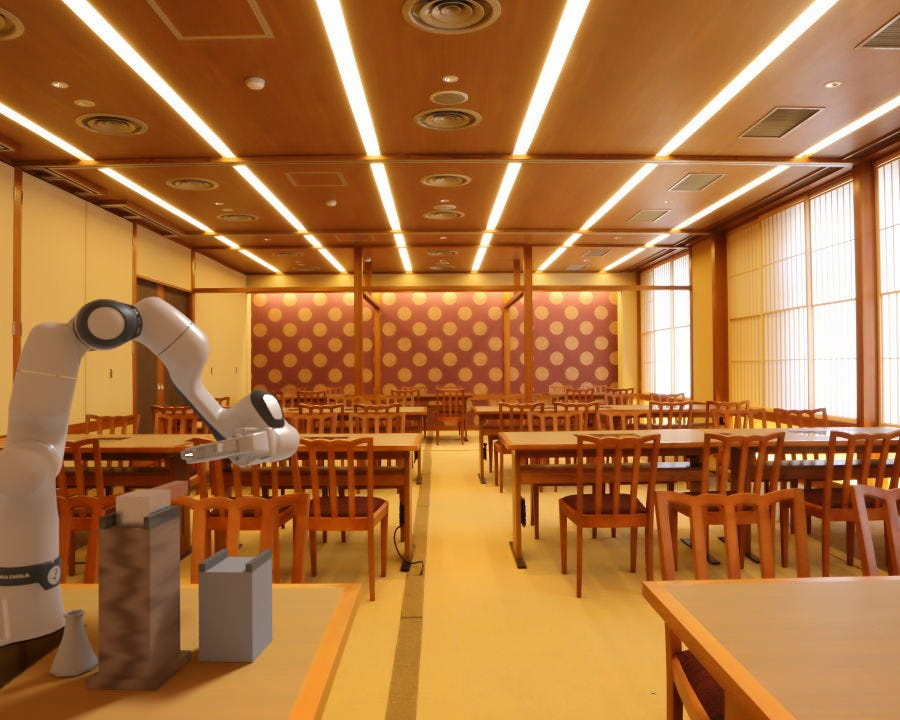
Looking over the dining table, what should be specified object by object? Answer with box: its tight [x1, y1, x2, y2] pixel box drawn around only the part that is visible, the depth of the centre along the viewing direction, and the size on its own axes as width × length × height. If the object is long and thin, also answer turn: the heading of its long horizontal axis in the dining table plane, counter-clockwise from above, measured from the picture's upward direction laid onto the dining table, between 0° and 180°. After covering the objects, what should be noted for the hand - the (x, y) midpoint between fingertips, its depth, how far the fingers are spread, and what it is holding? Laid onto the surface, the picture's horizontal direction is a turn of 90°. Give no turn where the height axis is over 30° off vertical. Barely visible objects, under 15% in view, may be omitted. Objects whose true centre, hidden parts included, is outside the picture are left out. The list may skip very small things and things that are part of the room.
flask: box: [48, 608, 99, 678], centre depth 115 cm, size 7×7×10 cm
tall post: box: [85, 505, 192, 691], centre depth 113 cm, size 12×12×28 cm
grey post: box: [198, 548, 274, 663], centre depth 122 cm, size 10×10×18 cm
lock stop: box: [115, 480, 189, 526], centre depth 119 cm, size 6×17×5 cm, turn 175°
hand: (199, 451), depth 138 cm, fingers open, 8 cm apart
